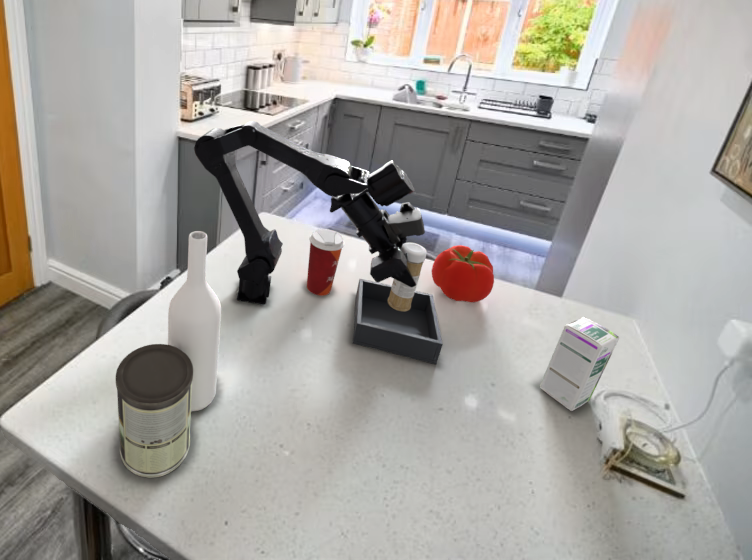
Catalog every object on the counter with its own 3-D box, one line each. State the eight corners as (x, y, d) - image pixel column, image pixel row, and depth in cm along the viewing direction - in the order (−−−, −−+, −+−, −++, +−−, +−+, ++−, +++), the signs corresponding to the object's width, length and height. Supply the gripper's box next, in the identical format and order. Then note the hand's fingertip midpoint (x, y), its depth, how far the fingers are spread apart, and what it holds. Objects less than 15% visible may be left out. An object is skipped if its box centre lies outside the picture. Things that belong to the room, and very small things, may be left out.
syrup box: (572, 412, 74) (605, 347, 69) (537, 386, 79) (565, 323, 74) (589, 401, 77) (622, 337, 71) (554, 376, 82) (583, 314, 76)
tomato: (439, 269, 113) (450, 234, 109) (494, 294, 105) (508, 256, 101) (417, 290, 104) (428, 253, 100) (476, 319, 95) (490, 279, 91)
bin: (352, 343, 86) (356, 323, 84) (355, 296, 100) (359, 278, 98) (436, 364, 82) (443, 344, 80) (427, 312, 96) (433, 294, 94)
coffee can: (105, 440, 64) (101, 367, 59) (163, 401, 71) (164, 332, 66) (144, 495, 57) (143, 419, 52) (204, 446, 64) (209, 374, 59)
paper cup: (338, 299, 98) (348, 246, 93) (304, 297, 98) (312, 244, 93) (331, 279, 106) (341, 228, 100) (300, 277, 105) (307, 226, 100)
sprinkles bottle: (387, 295, 90) (401, 239, 85) (410, 301, 89) (426, 244, 84) (386, 308, 86) (402, 250, 81) (411, 315, 85) (428, 256, 80)
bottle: (205, 418, 68) (215, 256, 57) (158, 403, 70) (159, 242, 59) (222, 379, 76) (234, 228, 64) (179, 366, 78) (183, 217, 66)
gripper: (405, 217, 71) (459, 290, 73) (403, 178, 88) (447, 238, 89) (348, 247, 76) (399, 315, 78) (356, 205, 93) (399, 261, 94)
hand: (413, 279), depth 85 cm, fingers closed on sprinkles bottle, 4 cm apart
